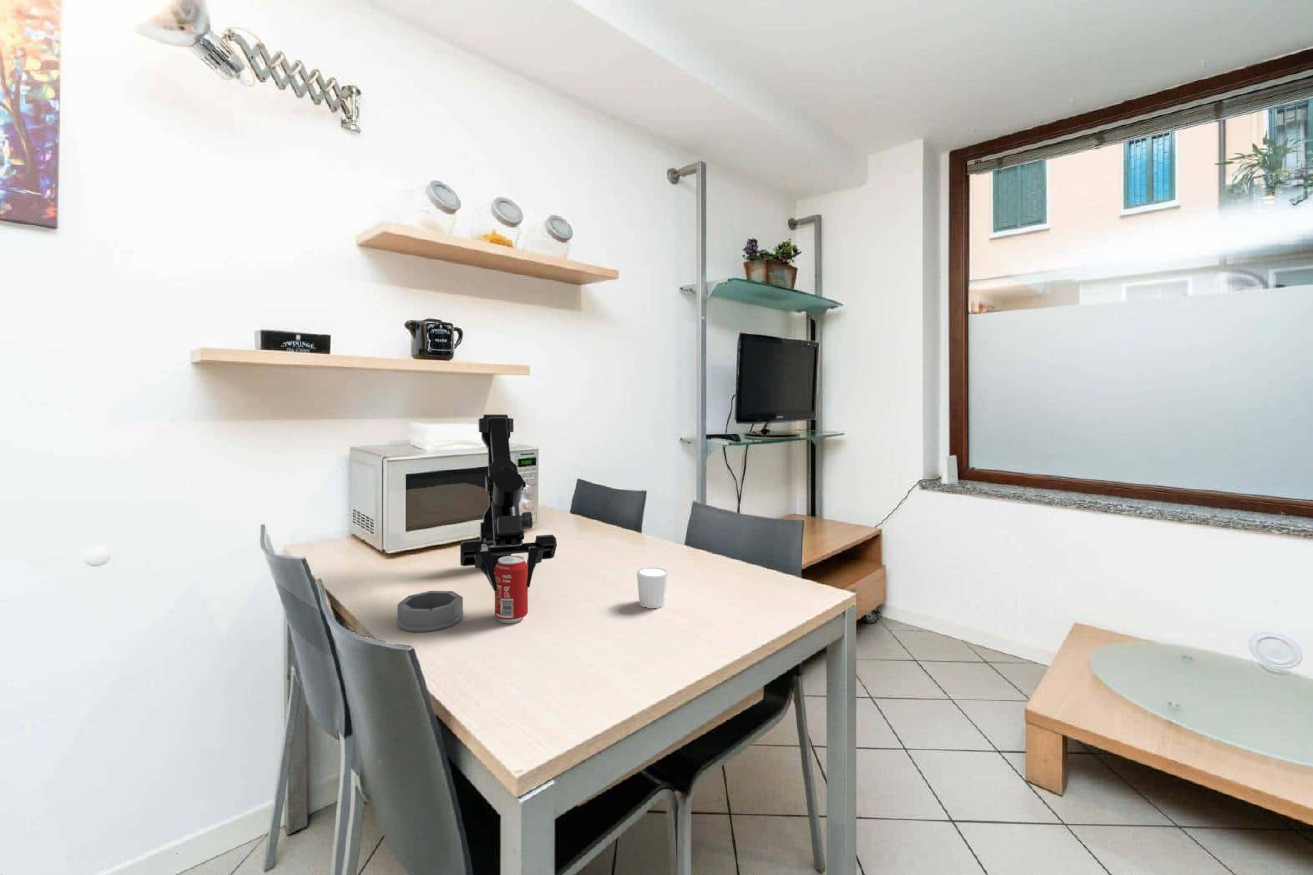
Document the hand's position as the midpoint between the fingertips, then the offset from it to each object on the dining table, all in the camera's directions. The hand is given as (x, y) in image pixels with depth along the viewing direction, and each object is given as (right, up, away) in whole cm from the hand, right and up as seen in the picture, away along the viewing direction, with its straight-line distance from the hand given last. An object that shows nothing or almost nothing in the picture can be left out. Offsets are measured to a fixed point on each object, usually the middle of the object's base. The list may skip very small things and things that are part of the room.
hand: (512, 588), depth 108 cm
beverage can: (-1, -7, +2) cm, 7 cm away
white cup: (+27, -6, +11) cm, 30 cm away
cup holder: (-16, -6, +1) cm, 17 cm away
